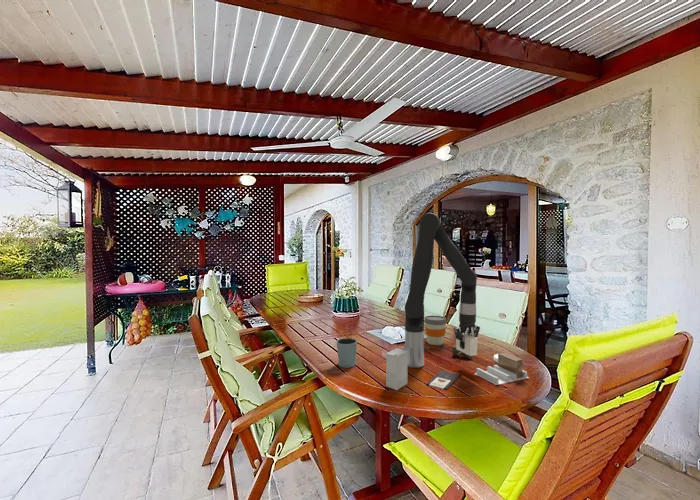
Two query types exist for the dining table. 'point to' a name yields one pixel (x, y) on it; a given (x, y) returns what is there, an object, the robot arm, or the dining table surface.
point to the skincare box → (396, 368)
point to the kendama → (459, 352)
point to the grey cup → (347, 352)
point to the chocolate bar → (443, 379)
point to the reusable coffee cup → (435, 329)
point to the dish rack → (499, 375)
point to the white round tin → (496, 358)
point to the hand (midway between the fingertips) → (466, 347)
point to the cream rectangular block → (468, 345)
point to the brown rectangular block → (510, 363)
